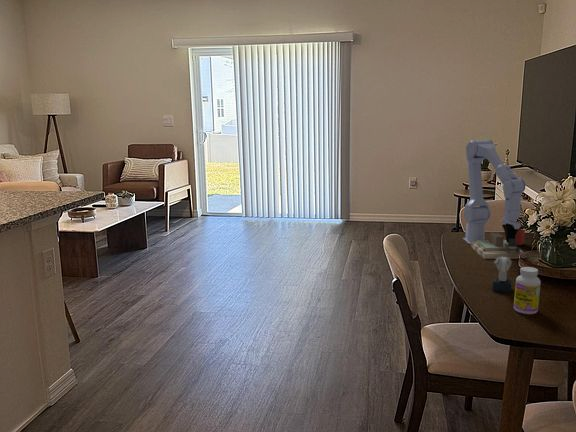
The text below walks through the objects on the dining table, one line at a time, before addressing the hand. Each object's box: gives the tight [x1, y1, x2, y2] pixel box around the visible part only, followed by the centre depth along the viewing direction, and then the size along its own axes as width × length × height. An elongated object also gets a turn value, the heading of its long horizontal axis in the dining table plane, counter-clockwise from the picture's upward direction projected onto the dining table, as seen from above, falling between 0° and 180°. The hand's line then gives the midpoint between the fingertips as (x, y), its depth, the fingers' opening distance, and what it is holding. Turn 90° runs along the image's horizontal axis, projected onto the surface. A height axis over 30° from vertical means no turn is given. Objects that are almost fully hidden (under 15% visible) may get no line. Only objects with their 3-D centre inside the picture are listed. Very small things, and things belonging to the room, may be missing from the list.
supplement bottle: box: [513, 266, 542, 315], centre depth 159 cm, size 7×7×13 cm
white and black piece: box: [491, 257, 512, 294], centre depth 177 cm, size 6×8×11 cm
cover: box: [477, 231, 507, 249], centre depth 221 cm, size 12×12×5 cm
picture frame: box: [470, 240, 525, 260], centre depth 220 cm, size 18×16×4 cm
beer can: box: [515, 223, 526, 246], centre depth 231 cm, size 7×7×12 cm
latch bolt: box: [505, 238, 517, 249], centre depth 215 cm, size 5×2×4 cm, turn 177°
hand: (509, 242), depth 216 cm, fingers closed
